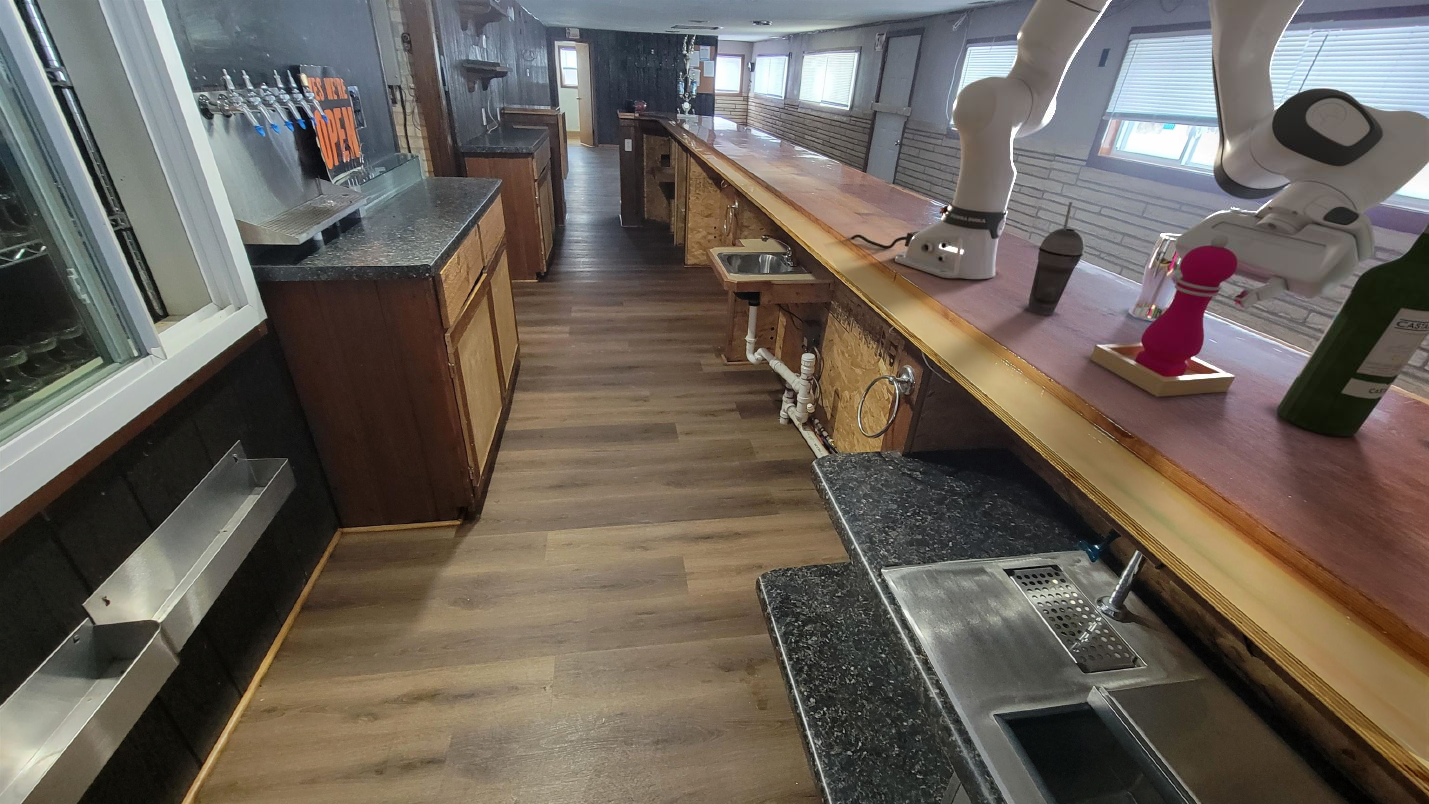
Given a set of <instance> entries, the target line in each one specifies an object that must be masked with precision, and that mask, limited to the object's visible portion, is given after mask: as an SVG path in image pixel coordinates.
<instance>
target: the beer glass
mask: <svg viewBox="0 0 1429 804" xmlns="http://www.w3.org/2000/svg"><path fill="white" fill-rule="evenodd" d="M1180 235H1181V234H1178V233H1177V234H1176V233H1161V234H1160V235H1159V237H1158V239H1157V241H1156V243H1155V245H1154V246H1153V249H1152V250H1151V253H1150V255H1149V257H1148V260H1147V262H1146V265H1145V269H1144V272H1143V275H1142V276H1143V277H1142V282H1141V285H1140V286H1141V287H1140V290H1139V292H1138V296H1137V298H1136V299H1135V301H1134V303H1133V305H1132V306H1131V307H1130V309H1129V310H1128V314H1129V315H1130V316H1132V317H1134V318H1136V319H1139V320H1143V321H1147V322H1151V323H1152V322H1154V321H1155V320H1156V319H1157V318H1158V317H1160V316H1161V315H1162V314H1163V313H1164V312H1165V311H1166V310H1167V309H1168V307H1169V306H1170V305H1171V303H1172V301H1173V299H1174V297H1175V294H1176V291H1177V289H1176V288H1175V285H1176V284H1174V283H1173V281H1172V276H1173V275H1174V274H1175V273H1177V272H1178V271H1179V270H1180V264H1181V261H1182V259H1181V258H1180V257H1179V256H1178V253H1177V251H1176V248H1175V242H1176V239H1177V238H1178V237H1179V236H1180Z"/></svg>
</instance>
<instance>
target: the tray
mask: <svg viewBox="0 0 1429 804" xmlns="http://www.w3.org/2000/svg"><path fill="white" fill-rule="evenodd" d="M1142 350H1144V347H1143V345H1142V342H1126V343H1125V342H1124V343H1107V344H1095V346H1094V348H1093V351H1092V353H1091V356H1090V358H1089V360H1091V361H1093V362H1095V363H1096V364H1097V365H1100V366H1101V367H1103V368H1105V369H1107V370H1109V371H1110V372H1112V373H1114V374H1116V375H1117V376H1119V377H1121V378H1123V379H1124V380H1126V381H1128V382H1130V383H1132V384H1133V385H1135V386H1137V387H1139V388H1141V389H1143V390H1144V391H1146V392H1148V393H1149V394H1151V395H1153V396H1155V397H1156V398H1161V397H1171V396H1172V397H1174V396H1184V395H1185V396H1186V395H1198V394H1199V395H1200V394H1212V393H1224V392H1228V391H1229V389H1230V387H1231V385H1232V384H1233V382H1234V380H1235V378H1236V375H1234V374H1232V373H1229V372H1227V371H1225V370H1222V369H1221V368H1218V367H1217V366H1214V365H1213V364H1210V363H1208V362H1206V361H1203V360H1201V359H1199V358H1197V357H1196V356H1194V357H1192V358H1190V359H1188V360H1186V361H1187V363H1188V367H1187V369H1186V371H1185V373H1184V375H1183V376H1174V377H1164V376H1161V375H1159V374H1157V373H1155V372H1154V371H1152V370H1150V369H1148V368H1146V367H1144V366H1142V365H1140V364H1138V363H1136V362H1135V359H1136V357H1137V355H1138V353H1139V352H1140V351H1142Z"/></svg>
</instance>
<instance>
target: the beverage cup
mask: <svg viewBox="0 0 1429 804" xmlns="http://www.w3.org/2000/svg"><path fill="white" fill-rule="evenodd" d="M1072 206H1073V201H1069V202H1068V206H1067V211H1066V214H1065V220H1064V222H1063V227H1062V228H1058V229H1055V230H1053V231H1051V232H1050V233H1049V234H1047V235H1046V237H1045V238H1044V239H1043V240H1042V242H1041V244H1040V246H1039V247H1038V255H1037V264H1036V269H1035V273H1034V277H1033V280H1032V286H1031V290H1030V294H1029V297H1028V306H1027V311H1029V312H1031V313H1034V314H1038V315H1041V316H1051V315H1053V314H1054V312H1055V310H1056V308H1057V307H1058V304H1059V302H1060V300H1061V298H1062V296H1063V294H1064V291H1065V290H1066V287H1067V285H1068V284H1069V281H1070V279H1071V277H1072V276H1073V275H1072V274H1073V273H1074V270H1075V268H1076V267H1077V266H1078V264H1079V262H1080V260H1082V259H1081V258H1082V257H1083V256H1084V251H1085V241H1084V238H1083V236H1082V234H1080V233H1079V232H1078V231H1077V230H1075V229H1072V228H1068V224H1069V221H1070V215H1071V210H1072Z"/></svg>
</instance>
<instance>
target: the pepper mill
mask: <svg viewBox="0 0 1429 804" xmlns="http://www.w3.org/2000/svg"><path fill="white" fill-rule="evenodd" d="M1227 243H1228V238H1227V236H1225V235H1217V236H1215V237H1214V238H1213V239H1212V240H1211V245H1212V246H1211V245H1210V246H1200V247H1197V248H1195V249H1193V250H1191V251H1190V252H1188V253H1187V254H1186V255H1185V256H1184V258H1183V259H1182V261H1181V264H1180V271H1181V273H1182V277H1180V278H1178V280H1177V281H1178V282H1177V284H1176V285H1175V288H1176V289H1177V291H1176V294H1175V297H1174V298H1173V300H1172V302H1171V304H1170V306H1169V307H1168V309H1167V310H1166V311H1165V312H1164V313H1163V314H1162V315H1161V316H1160V317H1158V318H1157V319H1156V320H1155V321H1154V322H1152V321H1151V323H1150V324H1149V325H1148V327H1146V329H1145V330H1144V331H1143V333H1142V335H1141V338H1140V343H1142V345H1143V347H1144V350H1142V351H1140V352H1139V353H1138V355H1137V357H1136V359H1135V362H1136V363H1138V364H1140V365H1142V366H1144V367H1146V368H1148V369H1150V370H1152V371H1154V372H1155V373H1157V374H1159V375H1161V376H1164V377H1174V376H1183V375H1184V373H1185V371H1186V369H1187V367H1188V363H1187V361H1186V360H1188V359H1190V358H1192V357H1197V355H1199V353H1200V352H1201V351H1202V347H1203V345H1204V340H1205V330H1204V329H1205V328H1204V318H1205V317H1204V316H1205V312H1206V310H1207V308H1208V305H1209V303H1210V302H1211V300H1212V299H1213V298H1214V297H1218V296H1219V292H1220V290H1222V288H1223V286H1222V285H1221V284H1222V283H1223V282H1225V281H1227V280H1228V279H1230V278H1231V277H1232V276H1234V275H1233V274H1234V272H1235V270H1236V268H1237V258H1236V256H1235V254H1234V253H1233V252H1231V251H1230V250H1228V249H1226V248H1223V247H1224V246H1226V245H1227Z"/></svg>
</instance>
